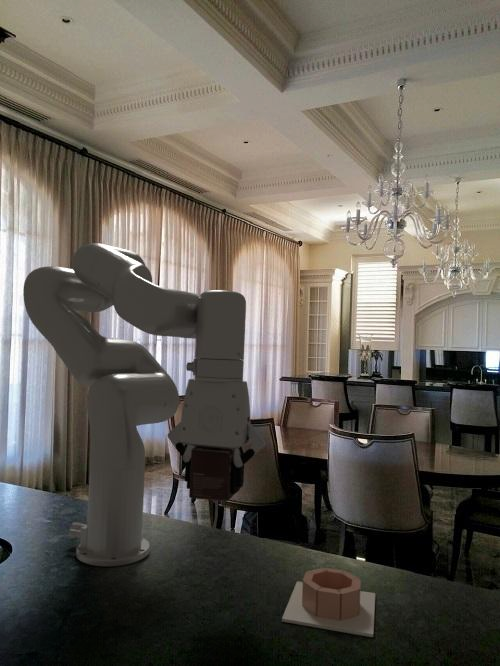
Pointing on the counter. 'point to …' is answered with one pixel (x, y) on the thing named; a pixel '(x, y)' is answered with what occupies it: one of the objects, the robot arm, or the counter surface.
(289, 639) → the counter surface
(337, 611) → the bowl
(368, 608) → the placemat
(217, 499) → the box
